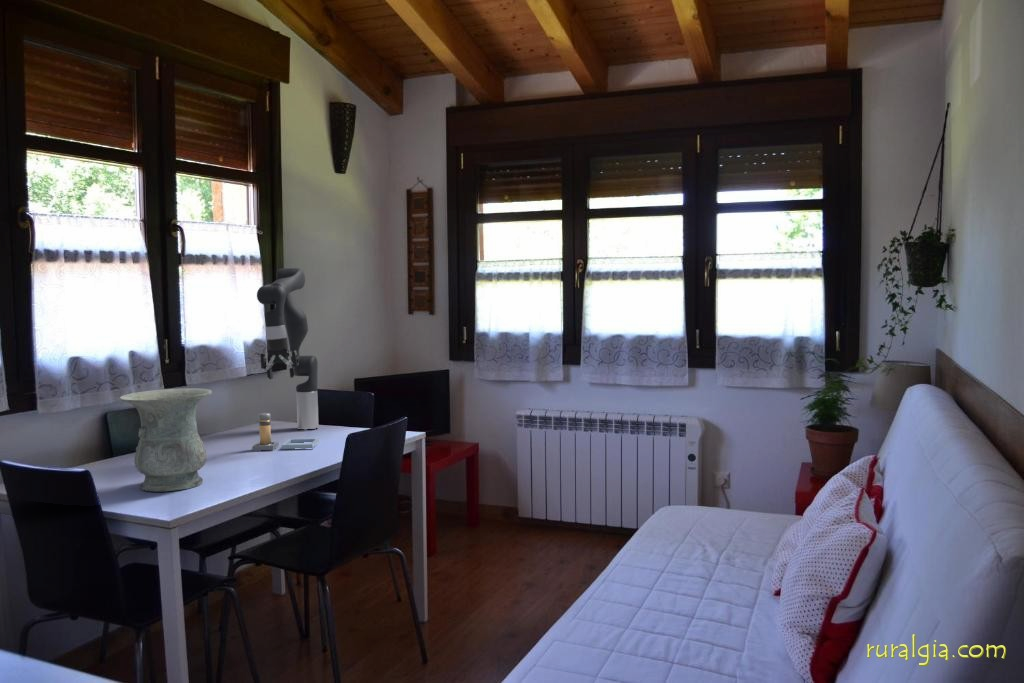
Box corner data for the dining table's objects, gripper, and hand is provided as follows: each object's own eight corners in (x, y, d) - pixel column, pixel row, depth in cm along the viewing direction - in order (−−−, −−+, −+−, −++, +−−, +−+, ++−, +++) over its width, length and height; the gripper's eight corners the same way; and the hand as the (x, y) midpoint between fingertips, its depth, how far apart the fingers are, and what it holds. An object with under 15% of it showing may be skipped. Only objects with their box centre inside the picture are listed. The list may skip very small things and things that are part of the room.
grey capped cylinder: (261, 447, 302) (260, 413, 301) (273, 447, 302) (271, 412, 301) (258, 450, 298) (256, 415, 297) (270, 450, 298) (268, 414, 297)
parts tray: (289, 444, 309) (289, 439, 309) (319, 443, 310) (318, 438, 310) (281, 450, 297) (281, 445, 297) (312, 449, 298) (312, 444, 298)
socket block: (258, 447, 304) (258, 442, 304) (278, 446, 304) (278, 441, 304) (252, 451, 296) (252, 446, 296) (273, 450, 296) (273, 445, 296)
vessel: (112, 486, 245) (107, 393, 243) (195, 471, 264) (191, 385, 262) (142, 501, 226) (137, 401, 224) (229, 484, 244) (225, 392, 242)
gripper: (297, 334, 298) (302, 375, 300) (262, 337, 299) (267, 377, 301) (291, 337, 290) (296, 378, 292) (255, 339, 291) (260, 381, 293)
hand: (281, 378), depth 296 cm, fingers open, 8 cm apart
